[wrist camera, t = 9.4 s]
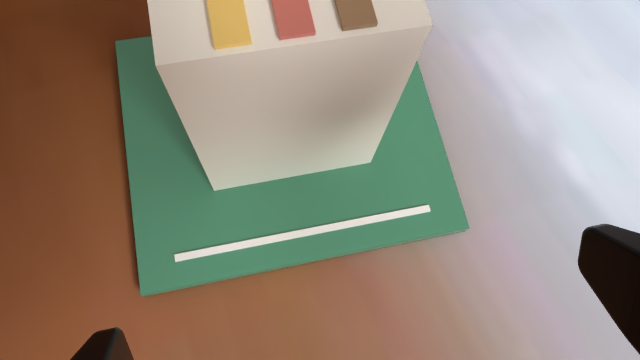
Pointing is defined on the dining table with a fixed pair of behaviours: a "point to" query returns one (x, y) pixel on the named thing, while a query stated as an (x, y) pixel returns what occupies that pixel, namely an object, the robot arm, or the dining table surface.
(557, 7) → the dining table surface
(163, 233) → the header board
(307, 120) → the plug block
